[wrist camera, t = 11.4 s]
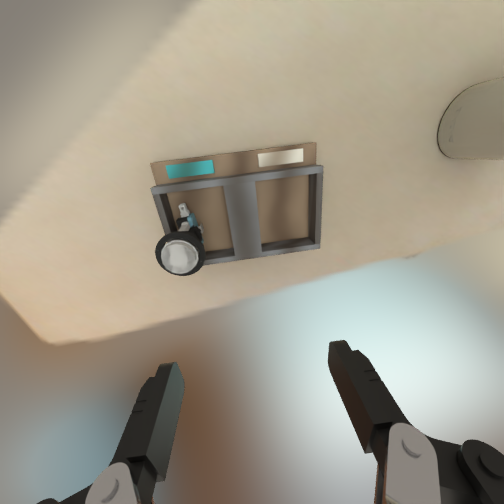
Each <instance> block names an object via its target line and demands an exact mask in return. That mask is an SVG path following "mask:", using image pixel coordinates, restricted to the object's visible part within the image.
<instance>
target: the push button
mask: <svg viewBox="0 0 504 504" xmlns="http://www.w3.org/2000/svg"><path fill="white" fill-rule="evenodd" d="M179 209H180V212H181V213H180V215H181V218H178V219H177V220H176V223H177V226H178V228H179V230H178V231H173V232H171V233H169V234H167V235H165V236H164V237H162V238H161V239H160V241H159V242H158V244H157V246H156V250H155V255H156V259H157V261H158V263H159V264H160V266H161V267H162V268H163V269H164V270H166V271H167V272H169V273H171V274H174V275H179V276H187V275H191V274H194V273H195V272H197V271H198V270H199V269H200V268H201V267H202V266H203V264H204V261H205V249H204V245H203V243H204V240H203V237H202V234H201V233H203V231H204V228H203V225H202V223H201V225H200V226H198V223H197V221H196V218H195V215H194V213H191V214H190V211H189V210H188V209H187V206H186V203H182V204H180V205H179ZM170 239H171V241H170V242H169V243H167V244H166V245H165V243H166V242H167V241H168V240H170ZM199 253H200V258H199V259H198V254H199Z"/></svg>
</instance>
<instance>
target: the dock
mask: <svg viewBox="0 0 504 504" xmlns="http://www.w3.org/2000/svg"><path fill="white" fill-rule="evenodd" d="M150 165H151V168H152V172H153V175H154V178H155V182H156V186H154V187H152V188H150V189H151V192H152V195H153V198H154V201H155V204H156V207H157V210H158V214H159V217H160V220H161V223H162V226H163V229H164V232H165V235H167V234H169V233H171V232H173V231H178V230H179V228H178V226H177V223H176V220H177V219H178V218H181V215H180V213H181V212H180V209H179V205H180V204H182V203H186V206H187V209H188V210H189V211H190V214H191V213H194V215H195V218H196V221H197V223H198V226H200V225H201V223H202V225H203V228H204V231H203V233H201V234H202V237H203V240H204V243H203V245H204V249H205V261H204V264H203V265H210V264H217V263H224V262H230V261H237V260H244V259H251V258H258V257H265V256H272V255H279V254H285V253H292V252H299V251H306V250H313V249H320V239H321V213H322V187H323V166H321V165H316V143H308V144H300V145H292V146H284V147H276V148H268V149H260V150H252V151H244V152H236V153H228V154H220V155H212V156H204V157H196V158H188V159H180V160H172V161H164V162H156V163H150ZM170 241H171V239H170V240H168V241H167V242H168V243H169V242H170ZM199 258H200V253H199V254H198V259H199Z"/></svg>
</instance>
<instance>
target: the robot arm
mask: <svg viewBox="0 0 504 504" xmlns="http://www.w3.org/2000/svg"><path fill="white" fill-rule="evenodd" d="M438 142H439V146H440V149H441V150H442V152H443V153H444V154H445V155H446V156H448V157H450V158H458V159H488V160H504V77H501V78H498V79H494V80H490V81H487V82H483V83H479V84H476V85H474V86H471V87H470V88H468V89H466V90H465V91H463V92H462V93H461V94H460V95H459V96H457V98H456V99H455V100H454V101H453V102H452V103H451V105H450V106H449V107H448V109H447V110H446V112H445V114H444V116H443V118H442V121H441V124H440V127H439V133H438ZM328 366H329V370H330V373H331V375H332V377H333V380H334V382H335V384H336V386H337V389H338V392H339V394H340V396H341V399H342V401H343V403H344V406H345V408H346V410H347V412H348V415H349V417H350V420H351V422H352V424H353V427H354V429H355V431H356V434H357V436H358V438H359V441H360V443H361V446H362V448H363V450H364V453H372V452H373V454H374V456H375V458H376V460H377V462H378V465H377V475H376V487H375V497H374V504H504V455H503V454H502V453H500V452H499V451H498V450H496V449H495V448H493V447H492V446H490V445H488V444H486V443H484V442H481V441H478V440H467V441H465V442H464V443H463V445H458V444H453V443H450V442H445V441H441V440H437V439H434V438H431V437H429V436H426V435H424V434H423V433H422V432H420V431H419V430H418V429H416V428H415V427H414V426H413V425H412V424H410V422H409V421H408V420H407V419H406V417H405V416H404V414H403V413H402V411H401V410H400V408H399V407H398V405H397V403H396V402H395V400H394V399H393V397H392V395H391V394H390V392H389V391H388V389H387V387H386V386H385V384H384V383H383V381H381V378H380V377H379V375H378V373H377V372H376V371H375V369H374V367H373V365H372V364H371V362H370V361H369V359H368V358H367V357H366V356H365V355H363V354H362V353H361V352H360V351H359V350H354V351H352V350H351V348H350V347H349V345H348V343H347V342H346V341H345V340H340V341H333V342H330V343H329V353H328ZM183 395H184V379H183V376H182V374H181V372H180V369H179V367H178V364H177V363H176V362H172V363H164V364H160V366H159V367H158V370H157V373H156V376H155V377H149V379H148V380H147V381H146V383H145V384H144V385H143V387H142V388H141V390H140V392H139V395H138V397H137V400H136V404H135V405H134V407H133V410H132V414H131V415H130V417H129V420H128V422H127V425H126V427H125V430H124V433H123V435H122V437H121V440H120V442H119V445H118V447H117V450H116V452H115V455H114V457H113V459H112V461H111V463H110V465H109V466H108V468H106V469H105V470H104V471H103V472H102V473H101V474H100V475H99V476H98V477H97V479H96V480H95V481H94V483H93V484H91V485H90V486H88V487H87V488H85V489H83V490H81V491H79V492H77V493H76V494H74V495H72V496H70V497H68V498H66V499H65V500H63V501H61V502H57V501H56V500H54V499H52V498H49V499H45V500H43V501H40V502H39V503H37V504H155V502H154V499H153V492H154V488H155V483H156V482H160V481H165V478H166V473H167V468H168V464H169V459H170V455H171V450H172V445H173V441H174V436H175V432H176V427H177V422H178V418H179V413H180V408H181V404H182V399H183Z"/></svg>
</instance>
